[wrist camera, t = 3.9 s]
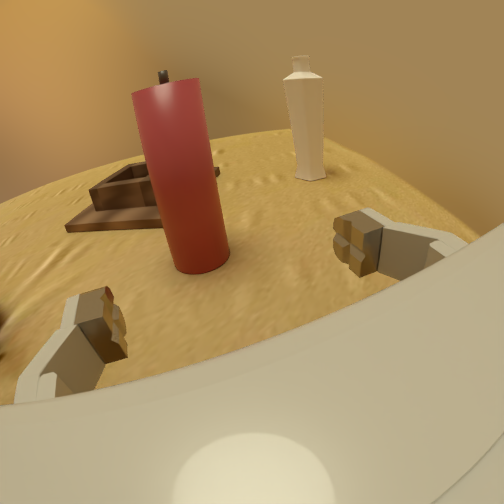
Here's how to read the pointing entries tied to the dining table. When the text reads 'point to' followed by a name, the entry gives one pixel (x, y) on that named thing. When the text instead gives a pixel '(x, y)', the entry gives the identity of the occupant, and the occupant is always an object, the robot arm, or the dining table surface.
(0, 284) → the dining table surface
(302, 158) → the perfume bottle
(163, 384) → the robot arm
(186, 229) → the burgundy candle
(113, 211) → the walnut stand
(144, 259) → the dining table surface
